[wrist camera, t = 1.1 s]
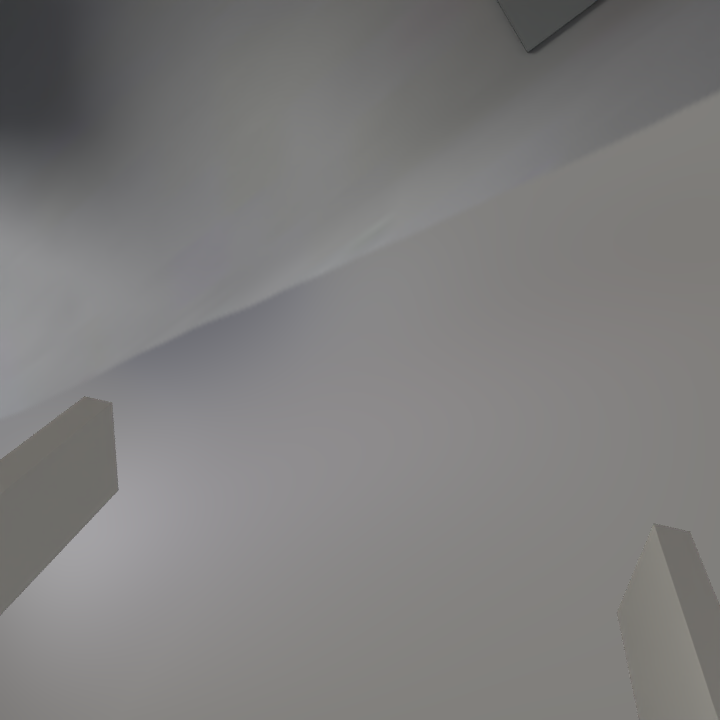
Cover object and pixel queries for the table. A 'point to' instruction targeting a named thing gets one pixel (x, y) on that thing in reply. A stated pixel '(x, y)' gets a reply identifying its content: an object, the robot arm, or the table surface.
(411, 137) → the table surface
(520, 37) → the mat
